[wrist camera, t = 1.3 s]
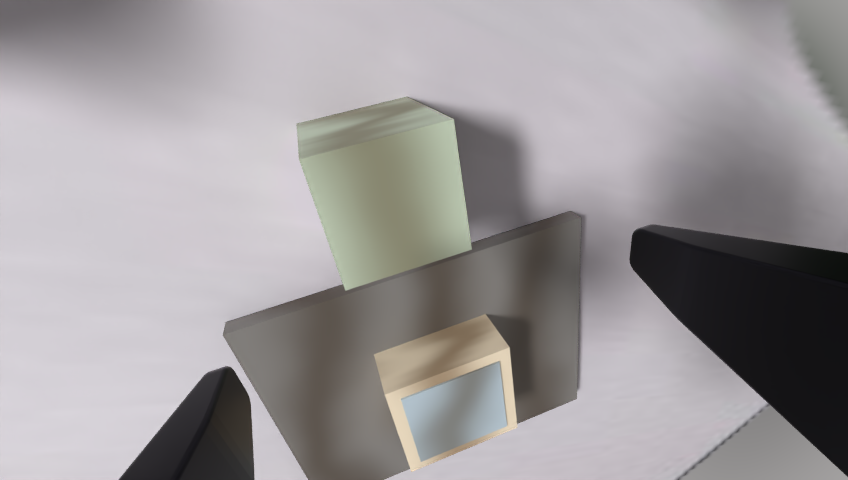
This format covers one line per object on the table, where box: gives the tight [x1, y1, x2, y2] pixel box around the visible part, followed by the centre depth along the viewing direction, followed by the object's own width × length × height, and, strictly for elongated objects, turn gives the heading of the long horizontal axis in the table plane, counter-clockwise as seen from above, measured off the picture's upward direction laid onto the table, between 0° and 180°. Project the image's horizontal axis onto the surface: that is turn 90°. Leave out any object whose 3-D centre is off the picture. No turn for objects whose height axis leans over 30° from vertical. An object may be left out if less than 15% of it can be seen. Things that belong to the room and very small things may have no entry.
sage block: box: [297, 97, 472, 291], centre depth 16 cm, size 5×5×6 cm
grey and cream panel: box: [223, 211, 581, 480], centre depth 24 cm, size 20×16×4 cm
